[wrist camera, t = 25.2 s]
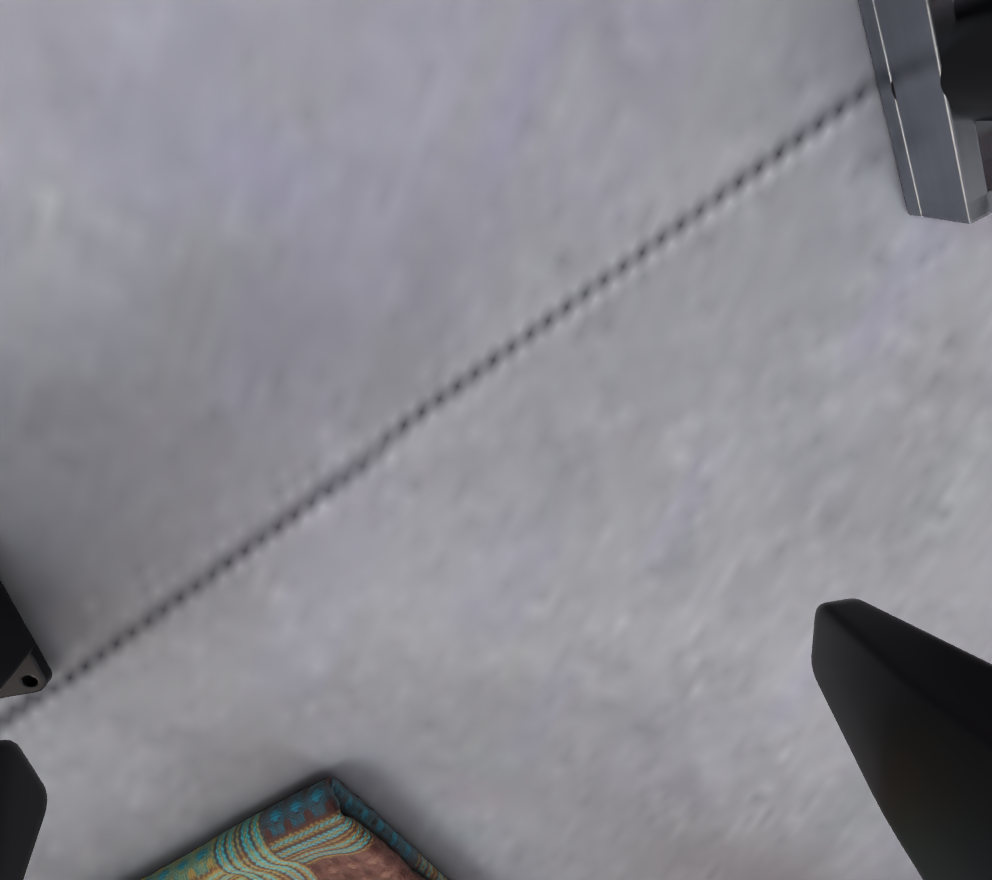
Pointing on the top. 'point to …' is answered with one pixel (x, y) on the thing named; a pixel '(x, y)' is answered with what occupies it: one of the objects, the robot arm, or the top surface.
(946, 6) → the black cylinder on tray
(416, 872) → the multicoloured book
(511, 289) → the top surface
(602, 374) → the top surface
